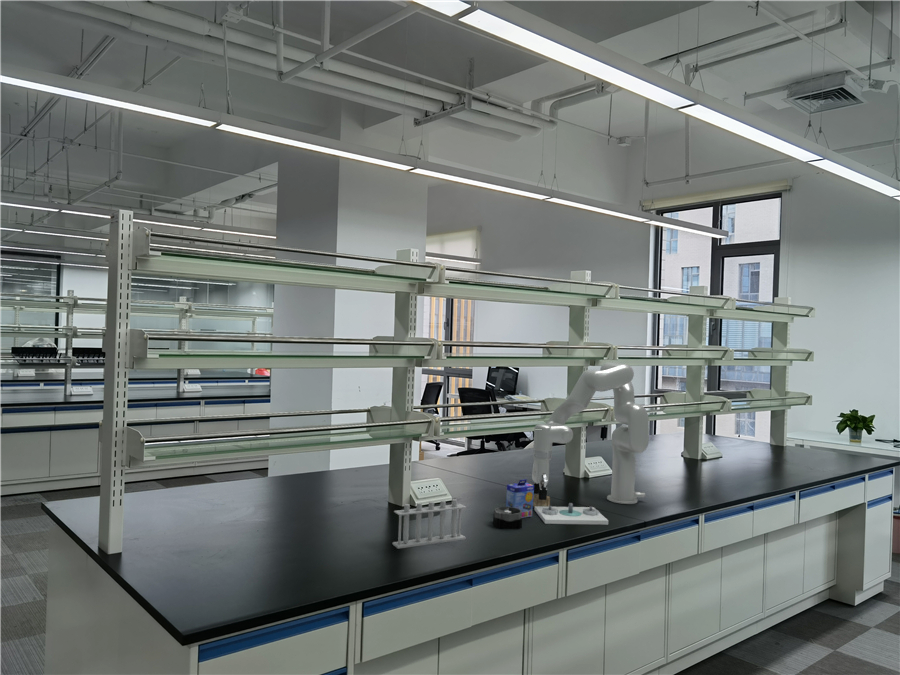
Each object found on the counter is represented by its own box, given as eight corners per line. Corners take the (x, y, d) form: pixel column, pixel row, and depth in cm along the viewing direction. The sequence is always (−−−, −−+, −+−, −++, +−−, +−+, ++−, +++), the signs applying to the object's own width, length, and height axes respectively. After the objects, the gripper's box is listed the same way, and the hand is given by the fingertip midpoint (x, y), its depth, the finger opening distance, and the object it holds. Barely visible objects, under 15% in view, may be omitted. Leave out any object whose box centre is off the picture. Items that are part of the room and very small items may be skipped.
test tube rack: (397, 549, 206) (399, 507, 206) (392, 544, 210) (393, 504, 210) (465, 539, 218) (467, 500, 218) (459, 535, 222) (460, 497, 222)
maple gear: (547, 503, 270) (547, 494, 269) (551, 508, 262) (552, 499, 262) (529, 502, 269) (529, 494, 269) (533, 507, 261) (533, 498, 261)
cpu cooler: (518, 506, 242) (524, 513, 232) (518, 521, 242) (524, 529, 232) (491, 505, 241) (496, 513, 231) (490, 521, 241) (495, 529, 231)
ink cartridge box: (513, 520, 243) (515, 481, 243) (504, 516, 248) (506, 478, 248) (533, 516, 249) (535, 478, 249) (524, 512, 253) (525, 475, 253)
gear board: (593, 511, 260) (594, 498, 260) (608, 524, 242) (608, 510, 242) (534, 510, 258) (535, 497, 258) (545, 523, 240) (545, 509, 240)
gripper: (528, 450, 273) (526, 491, 273) (537, 458, 256) (535, 501, 256) (546, 451, 274) (543, 491, 274) (556, 459, 257) (554, 502, 257)
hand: (539, 496), depth 265 cm, fingers open, 9 cm apart
